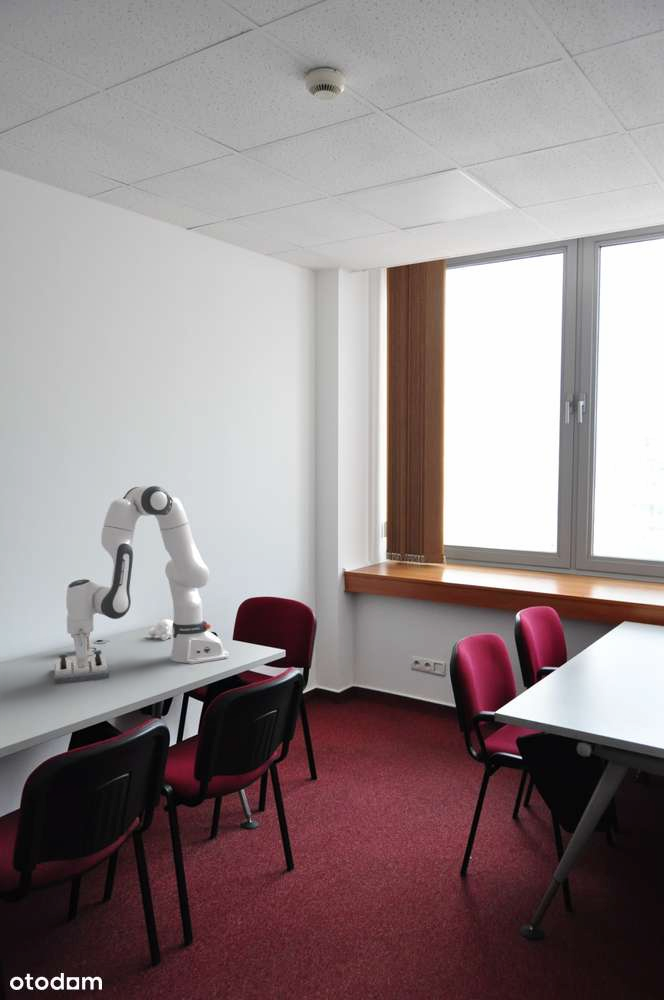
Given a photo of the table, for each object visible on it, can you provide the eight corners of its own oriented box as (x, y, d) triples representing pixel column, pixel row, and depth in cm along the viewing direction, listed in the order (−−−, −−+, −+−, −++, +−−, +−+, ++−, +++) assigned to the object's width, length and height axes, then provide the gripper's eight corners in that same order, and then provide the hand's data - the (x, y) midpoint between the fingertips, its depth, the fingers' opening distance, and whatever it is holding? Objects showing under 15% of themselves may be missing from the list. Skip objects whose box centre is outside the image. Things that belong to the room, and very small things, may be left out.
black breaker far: (66, 667, 268) (66, 654, 268) (59, 668, 267) (59, 655, 267) (66, 665, 270) (66, 653, 270) (59, 666, 269) (59, 654, 269)
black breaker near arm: (101, 663, 272) (101, 651, 272) (94, 664, 272) (94, 652, 271) (101, 662, 274) (100, 650, 274) (94, 663, 273) (94, 650, 273)
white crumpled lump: (166, 620, 315) (143, 621, 319) (169, 640, 315) (145, 641, 319) (175, 617, 321) (152, 618, 325) (177, 637, 321) (154, 637, 325)
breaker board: (108, 678, 262) (108, 667, 262) (54, 684, 256) (54, 672, 255) (105, 664, 280) (105, 654, 279) (54, 669, 273) (54, 659, 273)
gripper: (91, 632, 250) (92, 672, 250) (88, 620, 269) (89, 657, 269) (71, 633, 247) (72, 674, 248) (70, 621, 267) (71, 659, 267)
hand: (81, 665), depth 259 cm, fingers closed
